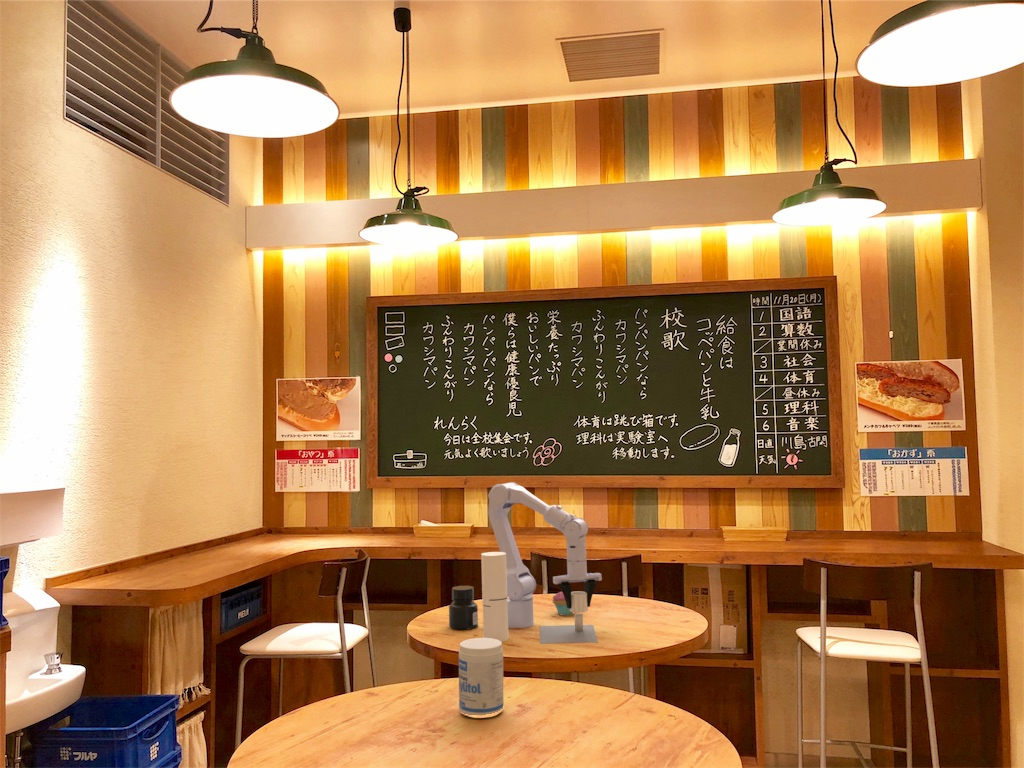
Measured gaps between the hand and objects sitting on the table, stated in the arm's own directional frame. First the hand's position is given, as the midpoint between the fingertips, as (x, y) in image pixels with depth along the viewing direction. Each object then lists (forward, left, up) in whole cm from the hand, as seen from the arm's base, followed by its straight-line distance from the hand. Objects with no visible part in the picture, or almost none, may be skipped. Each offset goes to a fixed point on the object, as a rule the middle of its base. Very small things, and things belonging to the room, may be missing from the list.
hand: (578, 606), depth 237 cm
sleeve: (0, 0, -1) cm, 1 cm away
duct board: (-4, -4, -8) cm, 9 cm away
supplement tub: (-24, -65, -8) cm, 70 cm away
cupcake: (-3, +26, -8) cm, 27 cm away
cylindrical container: (-24, -8, -8) cm, 27 cm away
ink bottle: (-35, +11, -8) cm, 38 cm away
